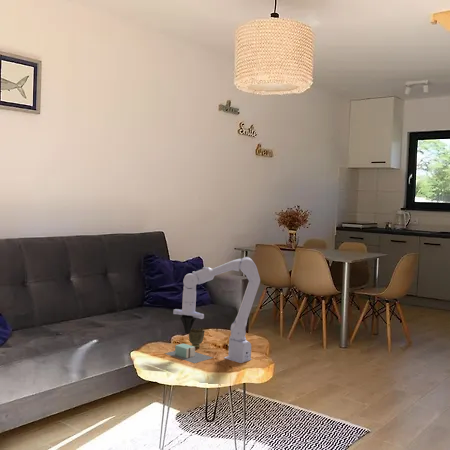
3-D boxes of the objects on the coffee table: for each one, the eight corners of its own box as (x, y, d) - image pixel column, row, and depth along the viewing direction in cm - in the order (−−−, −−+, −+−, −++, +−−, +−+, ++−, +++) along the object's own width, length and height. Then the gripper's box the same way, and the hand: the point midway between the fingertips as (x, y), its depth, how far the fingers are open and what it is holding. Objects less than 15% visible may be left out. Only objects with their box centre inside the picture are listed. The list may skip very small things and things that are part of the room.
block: (195, 346, 235) (183, 343, 239) (187, 348, 231) (175, 345, 235) (194, 355, 235) (183, 352, 239) (186, 358, 231) (174, 354, 235)
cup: (204, 345, 253) (205, 328, 253) (202, 349, 246) (203, 332, 246) (189, 344, 254) (189, 327, 254) (186, 348, 247) (187, 331, 246)
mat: (213, 358, 234) (213, 357, 234) (194, 364, 225) (194, 363, 225) (183, 349, 245) (183, 348, 245) (164, 354, 236) (164, 353, 236)
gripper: (208, 302, 233) (206, 333, 234) (180, 298, 240) (178, 328, 241) (199, 305, 227) (198, 337, 228) (171, 300, 234) (169, 331, 235)
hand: (187, 332), depth 234 cm, fingers closed
